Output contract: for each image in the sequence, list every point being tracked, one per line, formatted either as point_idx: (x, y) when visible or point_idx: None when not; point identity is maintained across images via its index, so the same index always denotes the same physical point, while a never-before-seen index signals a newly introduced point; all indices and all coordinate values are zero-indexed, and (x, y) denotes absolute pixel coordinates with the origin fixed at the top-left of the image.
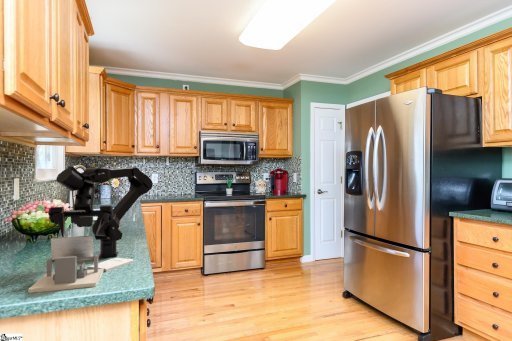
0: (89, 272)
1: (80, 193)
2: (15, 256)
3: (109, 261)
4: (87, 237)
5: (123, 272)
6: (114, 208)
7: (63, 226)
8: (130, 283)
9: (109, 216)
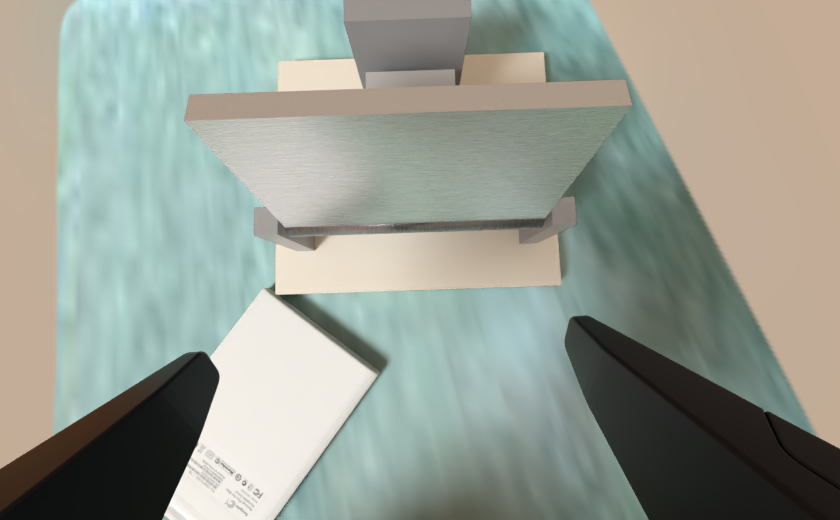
0: (338, 238)
1: None
2: None
3: (263, 462)
4: (244, 97)
5: (181, 254)
6: None
7: (660, 395)
8: (142, 72)
9: None
